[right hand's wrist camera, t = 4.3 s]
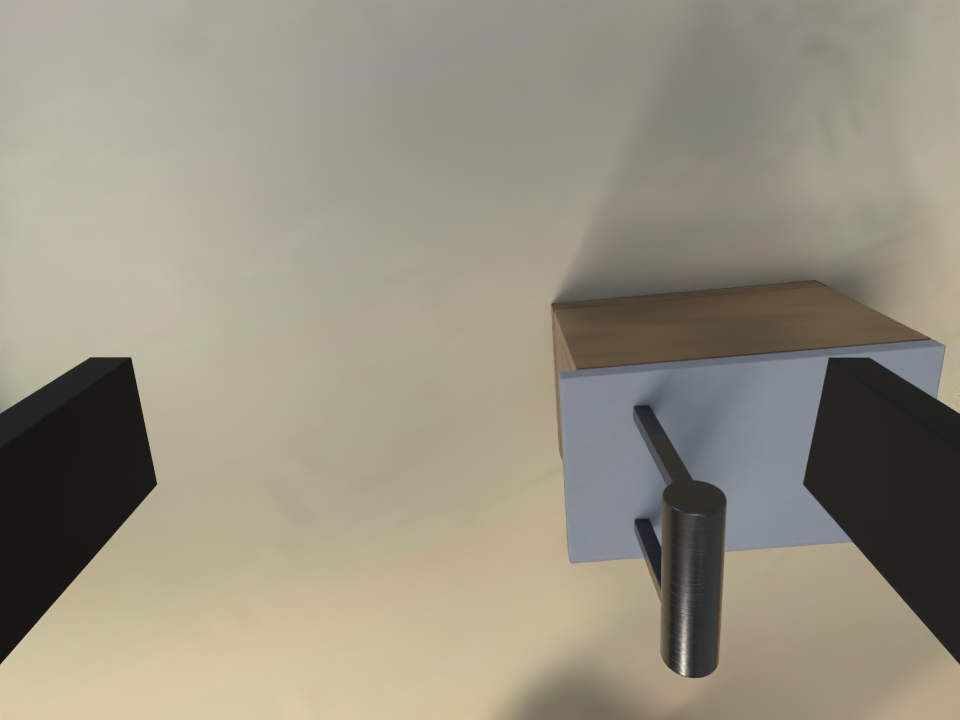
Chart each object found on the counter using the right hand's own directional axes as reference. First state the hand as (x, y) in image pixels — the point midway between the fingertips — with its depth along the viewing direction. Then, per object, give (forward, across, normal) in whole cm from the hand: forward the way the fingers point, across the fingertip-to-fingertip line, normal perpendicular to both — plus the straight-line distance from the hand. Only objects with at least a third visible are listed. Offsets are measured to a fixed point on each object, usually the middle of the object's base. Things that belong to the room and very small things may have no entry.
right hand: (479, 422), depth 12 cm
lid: (+14, -12, +9) cm, 20 cm away
